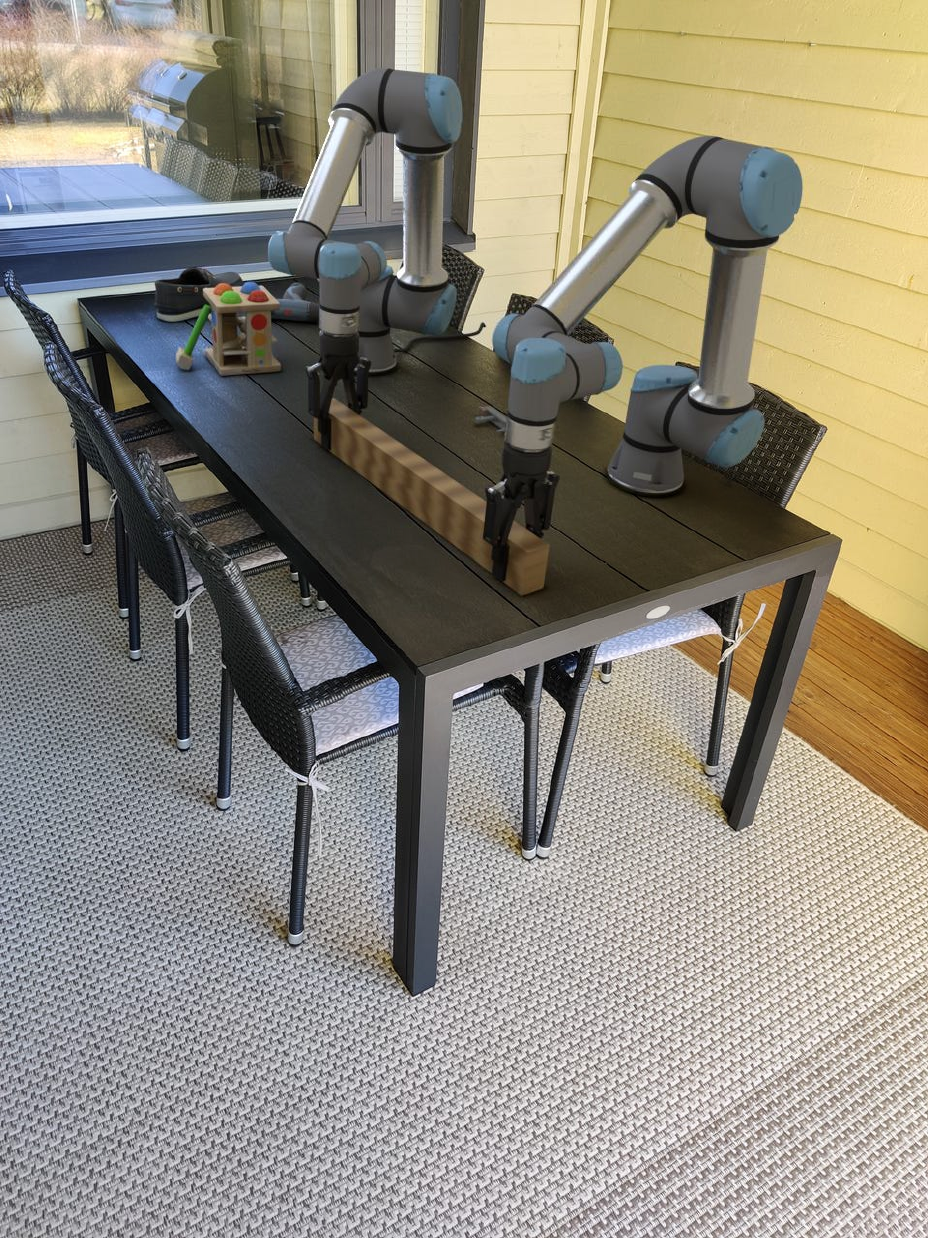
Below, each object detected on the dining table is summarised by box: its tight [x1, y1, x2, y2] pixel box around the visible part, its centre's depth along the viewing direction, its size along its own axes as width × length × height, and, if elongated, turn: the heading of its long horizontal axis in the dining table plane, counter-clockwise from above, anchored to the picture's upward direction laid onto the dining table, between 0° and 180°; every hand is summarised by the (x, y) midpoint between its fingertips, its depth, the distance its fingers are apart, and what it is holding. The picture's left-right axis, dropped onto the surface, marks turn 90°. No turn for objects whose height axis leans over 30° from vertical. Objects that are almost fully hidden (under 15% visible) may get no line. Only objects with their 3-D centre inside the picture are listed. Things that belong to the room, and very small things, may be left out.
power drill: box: [271, 282, 319, 322], centre depth 265 cm, size 5×19×20 cm
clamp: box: [474, 405, 507, 434], centre depth 212 cm, size 15×2×10 cm
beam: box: [313, 397, 551, 597], centre depth 178 cm, size 67×5×8 cm, turn 37°
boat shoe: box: [153, 265, 244, 323], centre depth 262 cm, size 13×33×10 cm, turn 147°
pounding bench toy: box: [174, 281, 282, 377], centre depth 225 cm, size 23×14×18 cm, turn 116°
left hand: (337, 444), depth 198 cm, fingers closed on beam, 5 cm apart
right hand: (511, 572), depth 162 cm, fingers closed on beam, 5 cm apart
